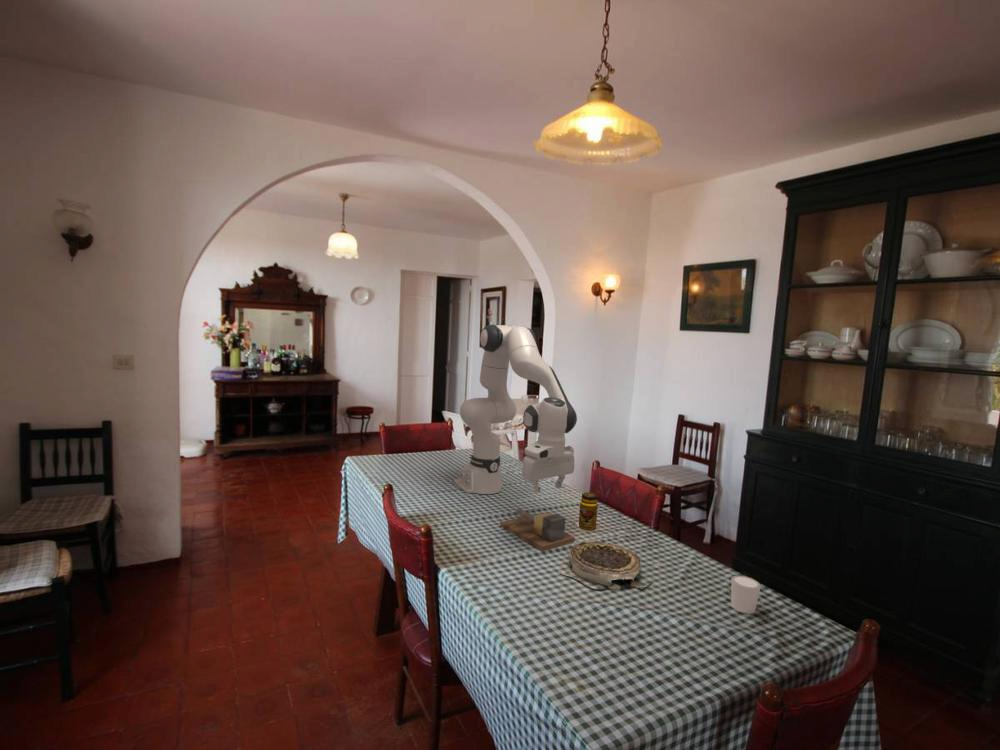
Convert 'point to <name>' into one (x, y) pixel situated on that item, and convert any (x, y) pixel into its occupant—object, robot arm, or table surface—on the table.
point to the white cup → (744, 594)
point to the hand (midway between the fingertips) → (547, 489)
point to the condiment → (588, 512)
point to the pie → (604, 563)
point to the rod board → (529, 531)
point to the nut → (539, 523)
